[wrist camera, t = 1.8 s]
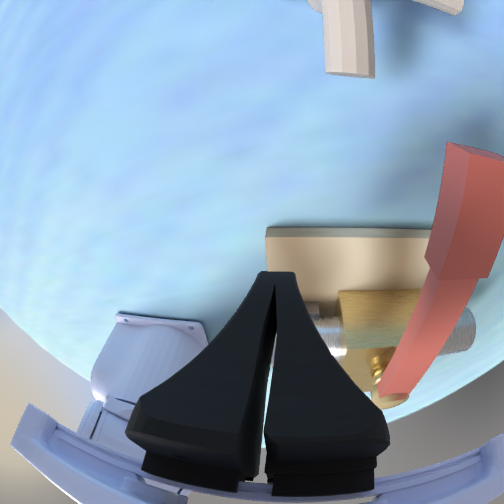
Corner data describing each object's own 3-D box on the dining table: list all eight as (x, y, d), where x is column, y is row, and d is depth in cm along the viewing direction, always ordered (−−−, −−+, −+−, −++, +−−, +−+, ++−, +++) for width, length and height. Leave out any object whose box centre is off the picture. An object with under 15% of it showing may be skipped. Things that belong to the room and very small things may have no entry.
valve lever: (399, 391, 14) (402, 408, 13) (364, 395, 15) (366, 413, 14) (497, 154, 6) (521, 167, 5) (446, 141, 6) (470, 153, 5)
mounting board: (273, 356, 25) (272, 367, 24) (266, 227, 17) (265, 237, 16) (424, 349, 23) (427, 358, 22) (476, 231, 15) (484, 239, 14)
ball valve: (271, 335, 22) (264, 405, 17) (268, 284, 19) (259, 364, 14) (441, 327, 20) (462, 386, 14) (463, 280, 17) (497, 342, 11)
